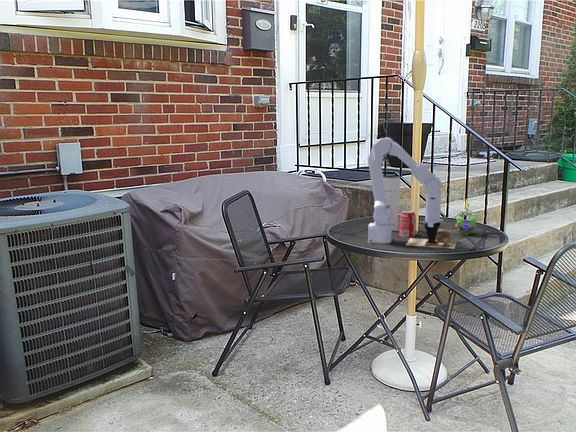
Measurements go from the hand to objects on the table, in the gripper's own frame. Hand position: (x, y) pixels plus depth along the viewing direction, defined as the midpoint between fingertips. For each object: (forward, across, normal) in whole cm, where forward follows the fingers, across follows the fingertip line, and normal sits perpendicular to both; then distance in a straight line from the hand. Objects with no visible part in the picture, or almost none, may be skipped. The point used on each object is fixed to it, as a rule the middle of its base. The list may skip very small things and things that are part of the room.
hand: (431, 241), depth 209 cm
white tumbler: (+3, +26, +23) cm, 35 cm away
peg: (+1, 0, 0) cm, 1 cm away
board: (+3, +3, 0) cm, 4 cm away
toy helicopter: (+3, +27, -12) cm, 30 cm away
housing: (+2, +8, -4) cm, 9 cm away
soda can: (+3, +14, +12) cm, 19 cm away
